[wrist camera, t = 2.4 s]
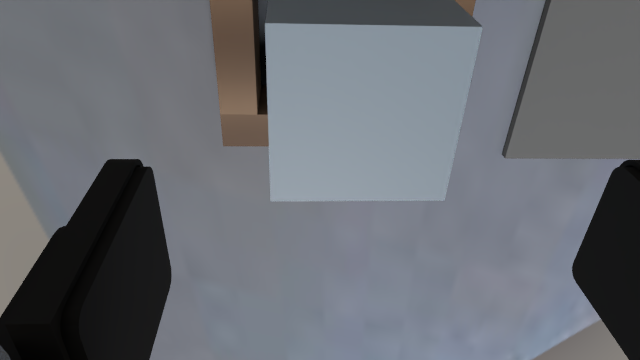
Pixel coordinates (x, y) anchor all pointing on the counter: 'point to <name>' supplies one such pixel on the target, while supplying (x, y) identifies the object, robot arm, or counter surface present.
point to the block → (366, 97)
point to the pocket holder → (245, 71)
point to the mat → (581, 84)
